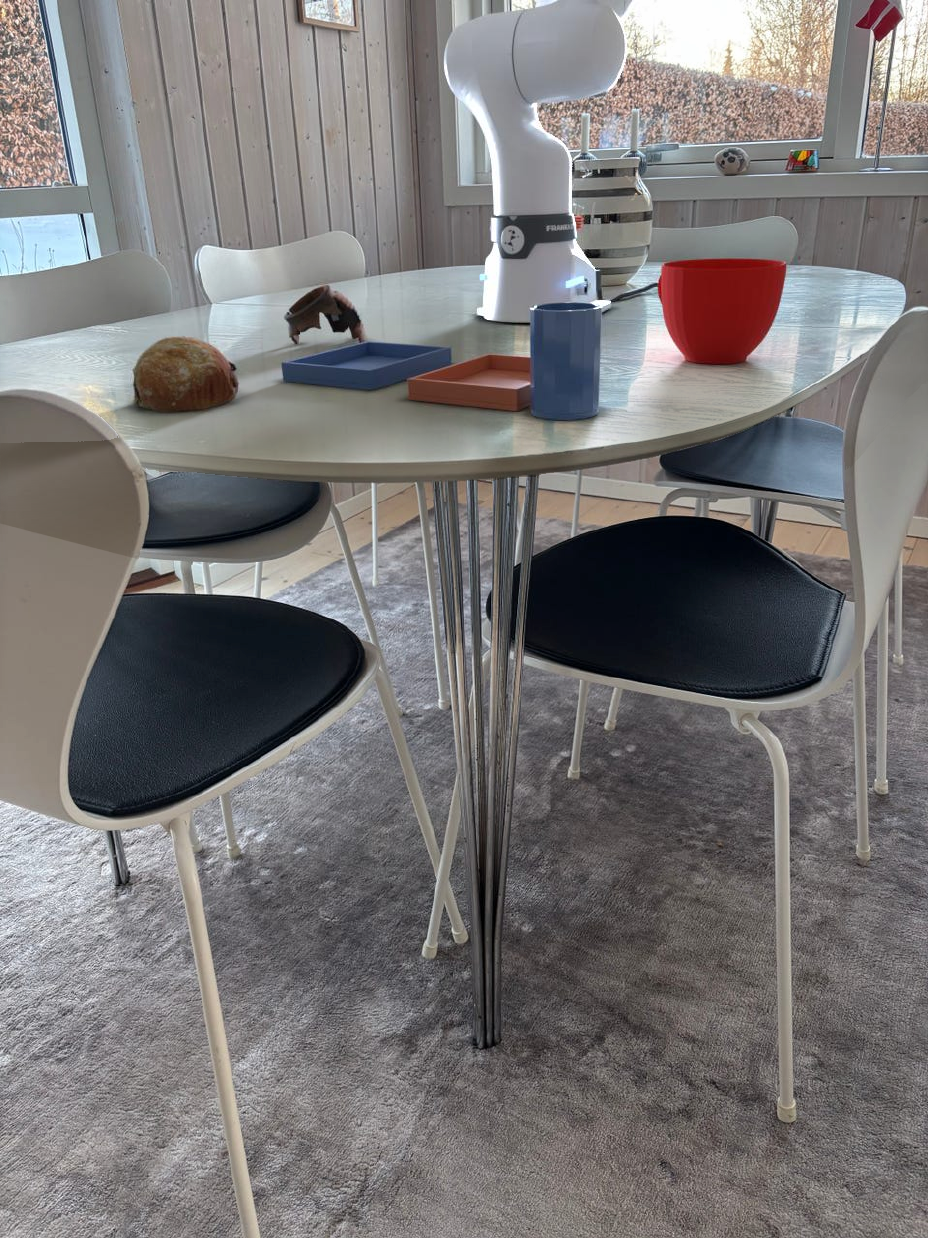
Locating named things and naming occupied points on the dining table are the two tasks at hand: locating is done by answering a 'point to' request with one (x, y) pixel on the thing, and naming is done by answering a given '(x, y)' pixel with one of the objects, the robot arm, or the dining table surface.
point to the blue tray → (366, 365)
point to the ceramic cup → (720, 306)
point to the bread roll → (183, 376)
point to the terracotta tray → (477, 383)
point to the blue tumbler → (565, 360)
